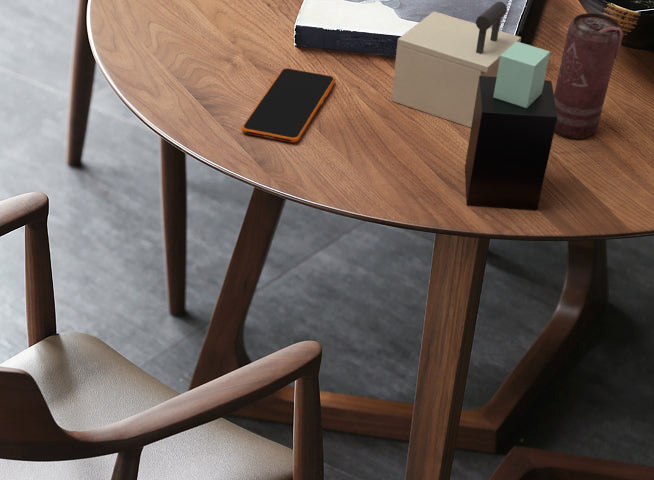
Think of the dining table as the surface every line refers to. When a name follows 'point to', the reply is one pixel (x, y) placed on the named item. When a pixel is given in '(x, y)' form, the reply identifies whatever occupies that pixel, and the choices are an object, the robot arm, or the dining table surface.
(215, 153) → the dining table surface
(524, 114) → the stand
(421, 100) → the beige box
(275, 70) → the dining table surface
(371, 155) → the dining table surface
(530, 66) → the mint green block
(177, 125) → the dining table surface
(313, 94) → the smartphone
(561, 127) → the can
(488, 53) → the lid
